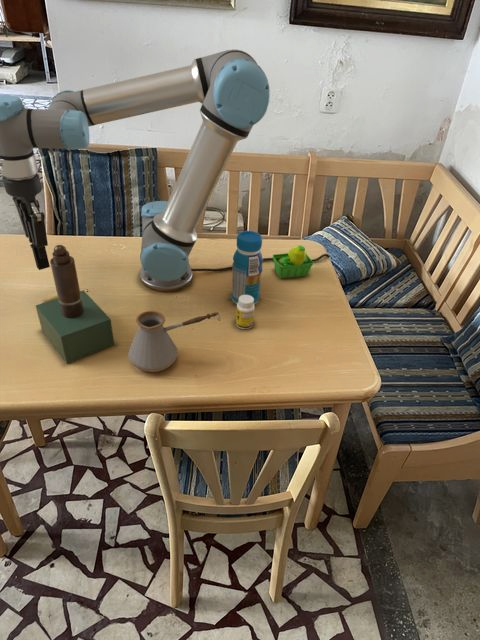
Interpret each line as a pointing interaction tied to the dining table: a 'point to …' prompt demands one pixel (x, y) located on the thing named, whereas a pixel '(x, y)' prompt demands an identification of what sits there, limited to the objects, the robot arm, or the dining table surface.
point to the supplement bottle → (245, 312)
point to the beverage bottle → (247, 266)
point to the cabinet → (76, 329)
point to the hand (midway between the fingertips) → (43, 267)
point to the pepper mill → (66, 283)
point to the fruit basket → (292, 263)
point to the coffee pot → (156, 341)
